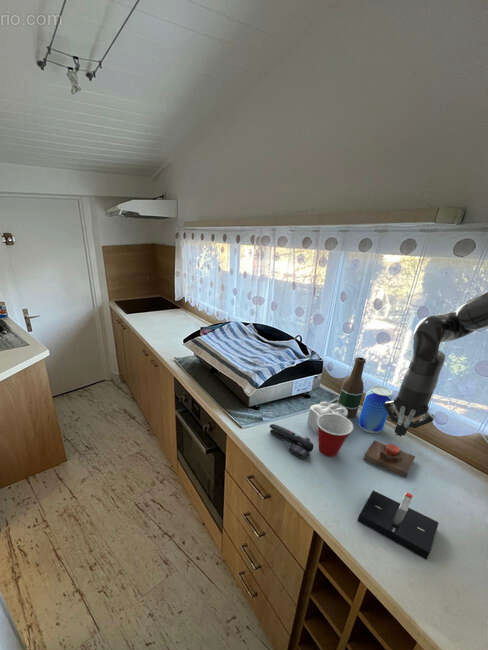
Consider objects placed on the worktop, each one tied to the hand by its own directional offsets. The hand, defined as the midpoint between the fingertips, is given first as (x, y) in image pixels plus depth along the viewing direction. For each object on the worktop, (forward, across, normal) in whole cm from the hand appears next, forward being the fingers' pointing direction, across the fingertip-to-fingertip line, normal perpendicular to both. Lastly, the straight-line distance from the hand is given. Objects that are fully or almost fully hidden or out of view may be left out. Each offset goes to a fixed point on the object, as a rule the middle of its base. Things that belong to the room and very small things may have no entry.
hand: (399, 434), depth 94 cm
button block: (+10, 0, 0) cm, 10 cm away
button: (+7, 0, 0) cm, 7 cm away
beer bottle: (+10, -20, +18) cm, 30 cm away
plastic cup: (+10, -16, -10) cm, 22 cm away
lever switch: (+10, +8, -25) cm, 28 cm away
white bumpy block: (+10, -22, +4) cm, 25 cm away
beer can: (+11, -10, +14) cm, 21 cm away
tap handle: (+8, +8, -25) cm, 28 cm away
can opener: (+10, -28, -15) cm, 33 cm away
